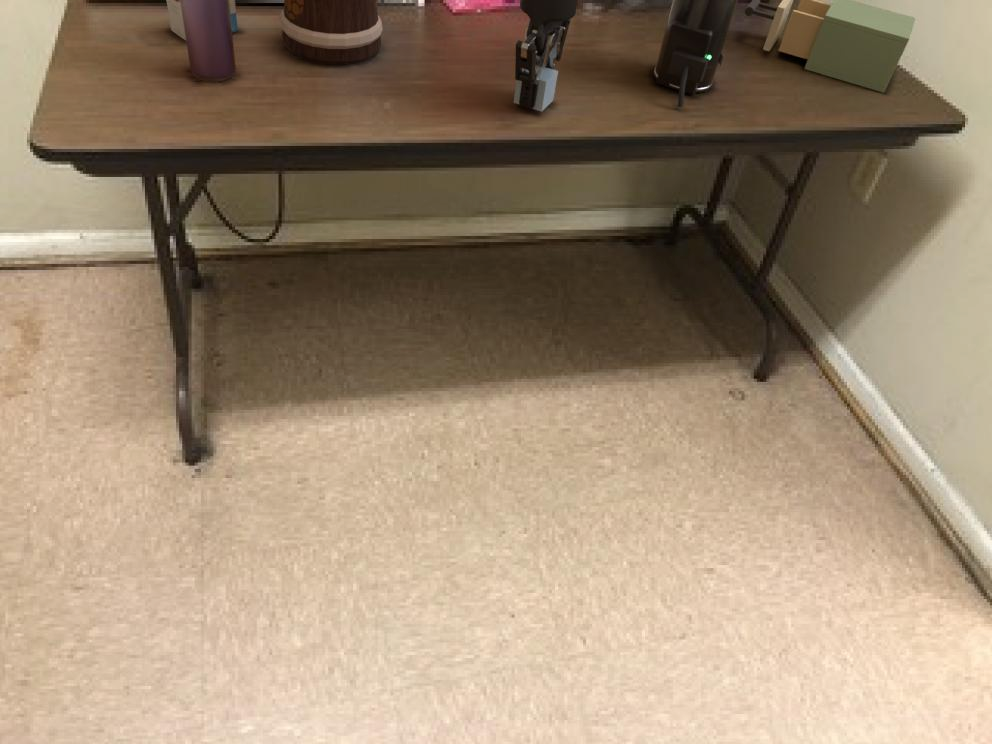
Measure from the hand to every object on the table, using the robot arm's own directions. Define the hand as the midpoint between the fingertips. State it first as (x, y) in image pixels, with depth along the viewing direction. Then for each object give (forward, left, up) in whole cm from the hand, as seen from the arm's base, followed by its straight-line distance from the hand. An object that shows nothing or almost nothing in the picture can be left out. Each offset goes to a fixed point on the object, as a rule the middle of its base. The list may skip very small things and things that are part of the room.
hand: (533, 99), depth 117 cm
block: (0, 0, 0) cm, 0 cm away
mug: (-1, +34, -1) cm, 34 cm away
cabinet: (+50, -39, -1) cm, 63 cm away
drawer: (+50, -28, 0) cm, 57 cm away
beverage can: (-21, +39, -1) cm, 45 cm away
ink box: (-11, +49, -1) cm, 51 cm away
